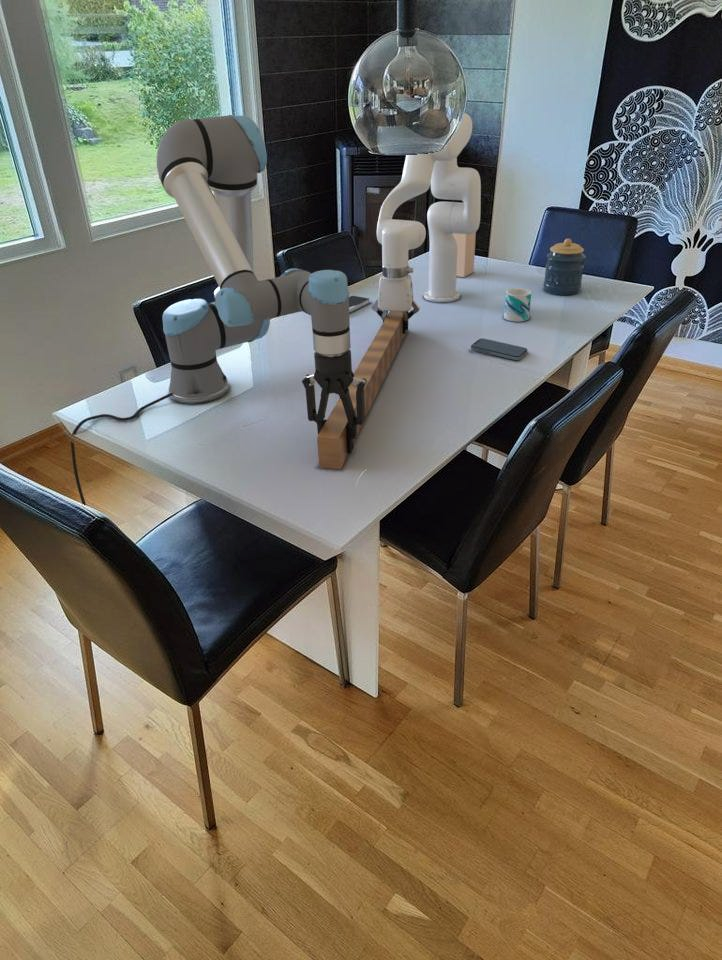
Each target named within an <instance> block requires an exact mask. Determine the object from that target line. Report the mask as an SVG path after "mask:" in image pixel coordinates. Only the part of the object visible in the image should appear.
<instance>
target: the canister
mask: <svg viewBox="0 0 722 960" xmlns="http://www.w3.org/2000/svg"><path fill="white" fill-rule="evenodd" d="M549 251H550V252H548V253H547V254H546V258H547V262H546V264H545V272H544V273H545V274H544V281H543V290H544V291H545V292H546V293H549V294H552V295H560V296H568V295H569V296H570V295H575V294H577V293H579V292H581V289H582V281H583V273H584V268H585V265H584V260H585V259H586V255H585V254H584V252H585V249H584V248H583V247H582V246H581V245H580V244H578V243H575V242H573V241H572V239H571V238H565V239H564V241H563V242H559V243H555V244H554V245H552V246H551V247H550V248H549Z"/></svg>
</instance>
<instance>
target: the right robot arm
mask: <svg viewBox="0 0 722 960" xmlns="http://www.w3.org/2000/svg"><path fill="white" fill-rule="evenodd" d="M463 113H464V115H463V119H462V122H461V124H460V126H459V128H458V130H457V132H456V134H455V135H454V137H453V138H452V140H451V141H450V142H449V144H448V145H447V146H446V147H445V148H444V149H442V150H441V151H438V152H434V153H428V154H417V155H406V154H405V159H404V164H403V168H402V175H401V179H400V182H399V183H398V184H397V185H395V187H394V188H393V189H392V190H391V191H390V192H389V193H388V195H387V196H386V197H385V199H384V201H383V202H382V204H381V206H380V209H379V214H378V219H377V223H376V240H377V242H378V243H379V244H380V245H381V260H382V261H381V263H382V265H381V269H382V271H381V272H382V274H381V275H380V278H379V282H378V293H377V300H375V302H374V303H373V304H372V306H371V310H372V311H374V312H375V313H376V315H378V316H379V317H380V318H381V320H382V323H383V322H384V320H385V319H386V317H387V315H388V313H389V312H390V311H402V313H403V317H404V320H403V334H405V333H406V334H407V332H406V330H407V331H409V320H410V319H411V318H412V317H413V316H414V315H416V314H417V313H418V312H420V310H421V307H420V306H419V305H418V303H417V302H416V300H415V299H414V286H413V279H412V274H413V273H414V267H411V266H410V265H409V251H410V250H414V249H417V248H420V247H421V246H422V245H423V243H425V239H426V238H427V237H426V235H427V231H426V227H425V225H424V224H423V223H422V222H420V221H417V220H407V219H395V218H394V217H393V216H394V214H395V212H396V210H397V209H398V208H399V207H400V206H401V205H402V204H403V203H406V202H407V201H409V200H411V199H413V198H415V197H417V196H420V195H422V194H424V193H426V192H428V190H429V189H430V191H431V195H432V196H433V197H434V198H435V199H438V200H448V201H437V202H434V203H431V204H430V205H429V207H428V210H427V213H426V220H427V228H428V236H429V241H428V242H429V249H428V250H429V253H428V255H429V256H428V290H427V291H425V292H424V293H423V296H424V300H427V301H429V302H433V303H451V302H455V301H457V300H459V299H460V297H461V293H460V292H459V291H458V290H457V276H456V272H457V250H458V247H457V242H456V240H455V238H454V236H453V235H452V233H457V234H473V233H475V232H476V233H477V231H478V230H479V228H480V224H481V213H482V212H481V208H482V207H481V206H482V205H481V203H482V202H481V201H482V199H481V198H482V196H481V195H482V184H481V181H482V180H481V176H480V173H479V171H478V170H477V169H475V168H472V167H460V166H458V156H459V155H460V154H461V153H462V151H463V150H464V148H465V147H466V145H467V144H468V143H469V141H470V139H471V137H472V133H473V121H472V120H473V119H472V118H471V116H470V115H469V114H468V113H465V112H463ZM449 200H451V201H449ZM458 201H462V202H458ZM393 218H394V219H393ZM406 334H405V335H406Z"/></svg>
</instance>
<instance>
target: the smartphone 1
mask: <svg viewBox="0 0 722 960" xmlns="http://www.w3.org/2000/svg"><path fill="white" fill-rule="evenodd" d="M368 304H370V298H368V297H363V296H358V295H351V296H350V295H349V314H350V313H352V312H354V311H356V310H357V309H360V308H362V307H364V306H366V305H368Z"/></svg>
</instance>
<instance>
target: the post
mask: <svg viewBox="0 0 722 960" xmlns="http://www.w3.org/2000/svg"><path fill="white" fill-rule="evenodd" d="M403 320H404V317H403V313H402V311H388V314H387V317H386V319H385V320H384V322H383V321H382V324H381V325H380V326H379V329H378V331H377V332H376V334H375V336H374V337H373V339H372V341H371V343H370V344H369V347H368V348H367V349H366V351H365V353H364V355H363V356H362V358H361V360H360V362H359V364H358V365H357V367H356V369H355V370H354V372H353V374H354V377H357V378H359V379H362V378H365V379H366V380H367V382H366V384H365V387H364V400H365V419H366V418H367V415H368V413H369V411H370V409H371V407H372V405H373V403H374V401H375V399H376V396H377V394H378V393H379V390H380V389H381V386H382V384H383V382H384V380H385V378H386V376H387V374H388V372H389V370H390V368H391V365H392V363H393V361H394V360H395V357H396V355H397V353H398V351H399V349H400V347H401V345H402V342H403V340H404V338H405V337H406V334H407V332H408V330H406V333H405V334H403ZM348 388H349V394H350V398H351V401H352V404H353V407H354V411H355V414H356V417H357V408H356V390H357V389H355V387H354V383H351V384H350V386H349V387H348ZM365 419H364V421H365ZM326 420H327V421H326V422H325V424H324V426H323V427H322V429H321V431H320V433H319V434H318V433H317V436H316V440H317V441H316V444H317V454H318V467H319V468H320V469H330V470H342V468H343V466H344V464H345V461H346V459H347V457H348V456H349V453H347V439H346V426H347V424H348V420H347V416H346V413H345V410H344V407H343V404H342V400H341V399H340V397H338V400H337V401H336V403H335V405H334V406H333V409H332V410H331V412H330V414H329V415H328V418H327V419H326ZM362 426H363V424H362V425H357V435H358V434H359V432H360V431H361V429H362ZM355 441H356V438H355V439H353V444H354V442H355Z"/></svg>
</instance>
